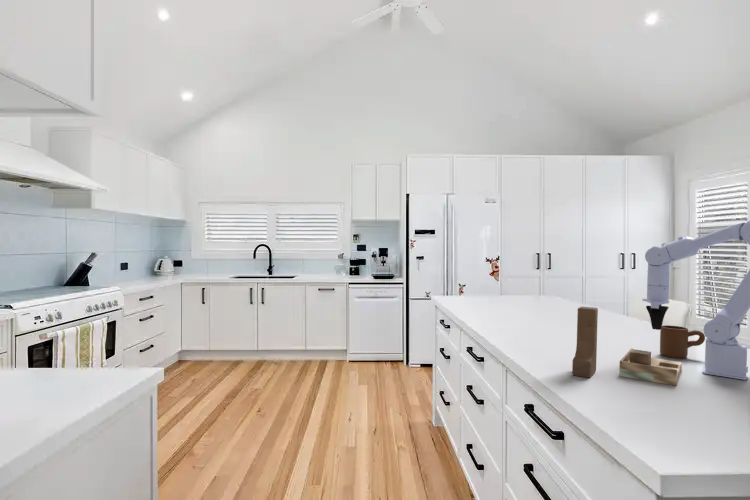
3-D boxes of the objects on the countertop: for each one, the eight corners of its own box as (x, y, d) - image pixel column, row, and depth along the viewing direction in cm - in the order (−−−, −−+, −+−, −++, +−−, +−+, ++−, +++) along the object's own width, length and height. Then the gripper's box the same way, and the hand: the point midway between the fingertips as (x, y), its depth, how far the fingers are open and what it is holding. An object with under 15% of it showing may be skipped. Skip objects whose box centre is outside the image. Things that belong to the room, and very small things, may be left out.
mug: (703, 357, 146) (704, 328, 145) (705, 362, 139) (706, 332, 139) (659, 352, 152) (660, 324, 152) (659, 356, 146) (660, 327, 146)
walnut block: (650, 368, 124) (651, 351, 124) (648, 371, 120) (648, 354, 120) (632, 365, 127) (632, 349, 127) (629, 368, 123) (629, 351, 123)
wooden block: (589, 378, 120) (591, 311, 119) (571, 375, 122) (573, 309, 122) (596, 371, 127) (598, 307, 127) (579, 368, 130) (580, 306, 129)
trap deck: (681, 369, 131) (681, 355, 131) (676, 385, 115) (676, 370, 115) (630, 361, 139) (631, 348, 139) (619, 375, 123) (619, 361, 123)
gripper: (646, 283, 148) (644, 324, 148) (639, 286, 136) (638, 330, 136) (671, 284, 143) (670, 327, 144) (667, 287, 132) (666, 334, 132)
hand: (656, 329), depth 140 cm, fingers closed
